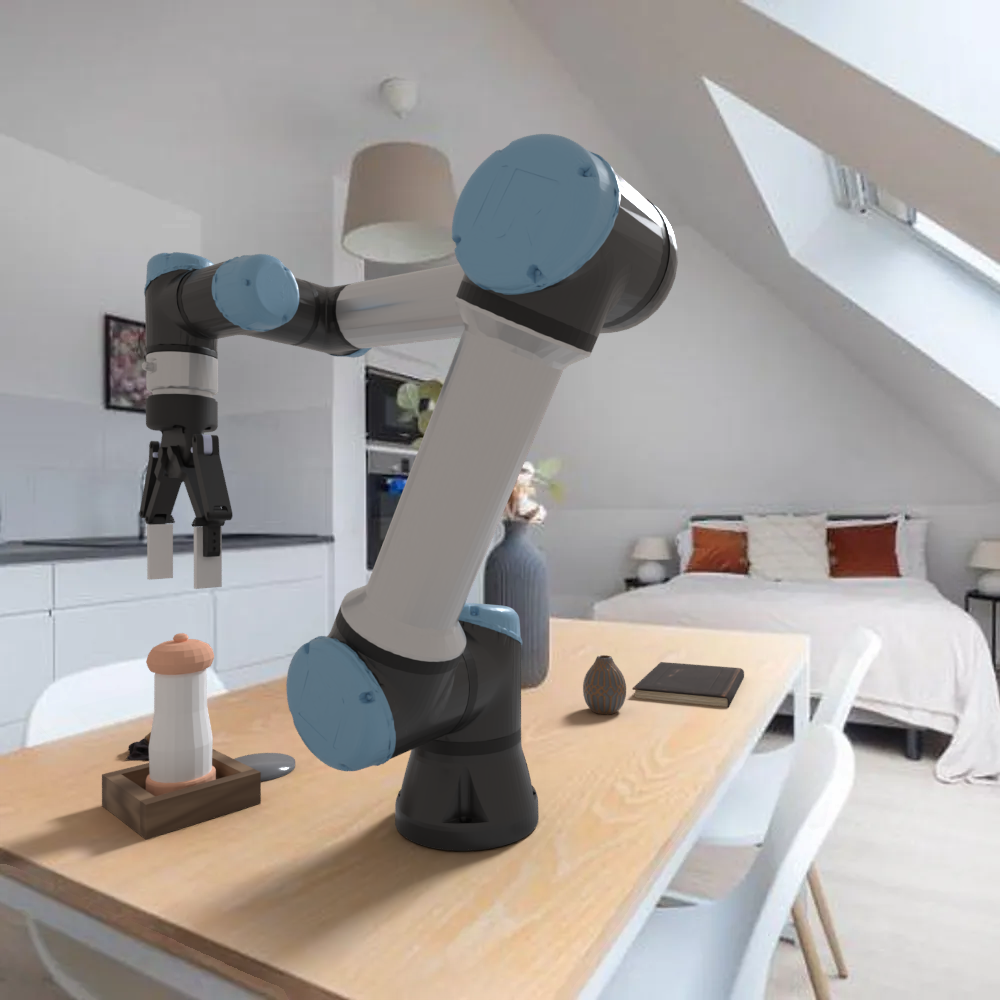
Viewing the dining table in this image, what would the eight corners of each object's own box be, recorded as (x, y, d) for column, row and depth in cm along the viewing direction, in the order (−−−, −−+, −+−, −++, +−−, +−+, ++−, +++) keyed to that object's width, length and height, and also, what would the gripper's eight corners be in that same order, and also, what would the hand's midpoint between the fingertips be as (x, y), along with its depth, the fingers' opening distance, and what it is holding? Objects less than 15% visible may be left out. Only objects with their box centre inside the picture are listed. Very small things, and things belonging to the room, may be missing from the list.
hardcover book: (632, 701, 129) (632, 687, 129) (660, 673, 150) (660, 661, 150) (729, 710, 123) (728, 696, 123) (744, 680, 144) (744, 668, 144)
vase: (634, 710, 121) (634, 656, 121) (610, 719, 116) (609, 663, 116) (599, 703, 126) (599, 650, 126) (574, 711, 121) (574, 657, 121)
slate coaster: (308, 768, 95) (308, 763, 95) (242, 788, 89) (242, 783, 89) (272, 752, 102) (272, 748, 102) (207, 770, 95) (207, 765, 95)
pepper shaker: (137, 820, 80) (136, 640, 80) (155, 794, 87) (154, 629, 87) (209, 814, 81) (209, 638, 82) (221, 789, 89) (220, 627, 89)
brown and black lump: (151, 741, 109) (150, 715, 109) (209, 739, 110) (209, 714, 110) (116, 765, 99) (116, 737, 99) (181, 764, 99) (181, 736, 99)
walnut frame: (260, 803, 84) (260, 772, 84) (146, 839, 75) (145, 804, 75) (210, 775, 93) (210, 747, 93) (101, 805, 84) (101, 774, 84)
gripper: (110, 403, 92) (111, 577, 91) (194, 379, 74) (194, 595, 74) (173, 408, 97) (173, 573, 97) (265, 387, 79) (265, 589, 79)
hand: (182, 583), depth 85 cm, fingers open, 13 cm apart
